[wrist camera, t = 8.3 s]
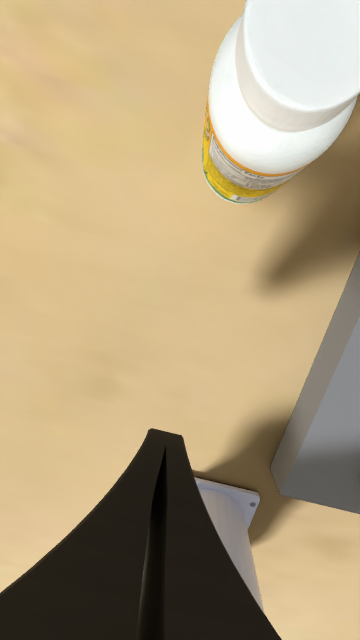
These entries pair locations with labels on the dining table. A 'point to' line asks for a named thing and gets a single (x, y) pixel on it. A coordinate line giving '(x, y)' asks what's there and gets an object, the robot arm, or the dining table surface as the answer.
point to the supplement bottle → (279, 93)
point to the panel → (327, 417)
